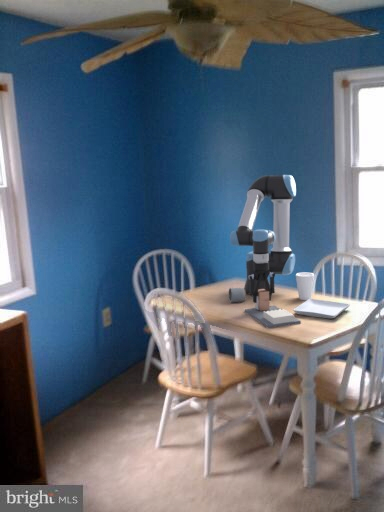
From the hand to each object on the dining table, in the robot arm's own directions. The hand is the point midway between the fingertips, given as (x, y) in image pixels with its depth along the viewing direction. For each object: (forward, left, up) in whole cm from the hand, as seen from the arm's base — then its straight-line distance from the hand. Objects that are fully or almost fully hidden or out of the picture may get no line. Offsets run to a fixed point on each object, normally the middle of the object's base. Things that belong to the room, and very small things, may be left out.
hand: (262, 308), depth 261 cm
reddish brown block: (0, 0, 0) cm, 0 cm away
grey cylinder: (-24, -5, -2) cm, 24 cm away
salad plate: (+13, +25, -2) cm, 29 cm away
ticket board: (+10, 0, -2) cm, 11 cm away
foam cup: (-13, +30, -2) cm, 33 cm away
